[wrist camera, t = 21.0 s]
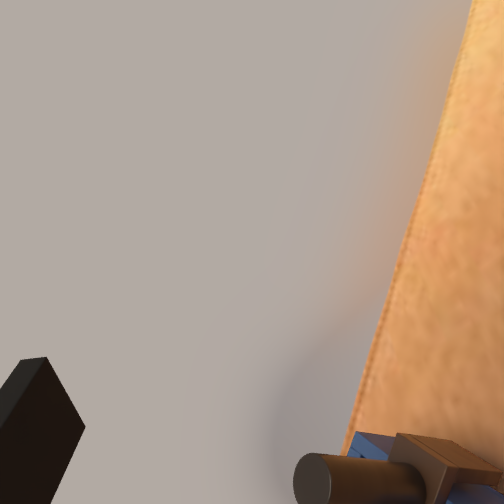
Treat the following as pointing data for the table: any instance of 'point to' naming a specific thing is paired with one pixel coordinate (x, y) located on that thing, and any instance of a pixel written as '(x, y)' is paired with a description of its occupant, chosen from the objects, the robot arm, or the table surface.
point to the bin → (461, 495)
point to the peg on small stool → (392, 474)
